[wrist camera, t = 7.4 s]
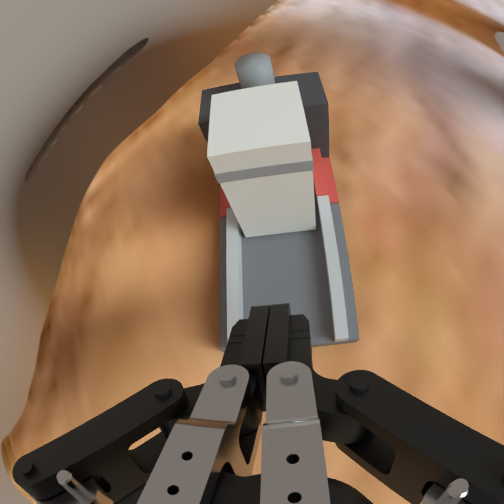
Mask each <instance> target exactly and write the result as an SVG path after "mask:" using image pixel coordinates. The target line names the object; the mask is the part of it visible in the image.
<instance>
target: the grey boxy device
mask: <svg viewBox="0 0 504 504" xmlns="http://www.w3.org/2000/svg"><path fill="white" fill-rule="evenodd" d="M235 68H236V72H237V75H238V78H239V82H240V83H235V84H230V85H225V86H220V87H215V88H211V89H206V90H202V97H201V105H200V114H199V123H198V124H199V126H200V128H201V130H202V132H203V135H204V137H205V139H206V141H207V143H208V134H209V121H210V108H211V97H212V95H214V94H219V93H224V92H229V91H234V90H239V89H245V88H251V87H257V86H263V85H270V84H277V83H284V82H292V81H297V83H298V87H299V91H300V95H301V100H302V104H303V108H304V113H305V117H306V122H307V126H308V131H309V136H310V140H311V152H312V157H313V165H314V170H313V181H314V199H315V220H316V229H314V230H306V231H297V232H288V233H280V234H271V235H263V236H254V237H245V235H244V233H243V231H242V228H241V226H240V224H239V222H238V220H237V218H236V216H235V214H234V212H233V210H232V208H231V206H230V204H229V202H228V199H227V197H226V195H225V193H224V191H223V189H222V187H221V185H220V342H221V351H223V352H225V349H226V346H227V344H228V339H229V337H230V332H231V329H232V327H233V326H234V325H235V324H236V322H237V321H238V320H239V319H248V318H249V314H250V309H251V307H252V306H262V305H270V306H271V305H272V304H283V303H289V304H290V310H291V315H298V314H304V315H305V317H306V318H307V319H308V320H309V325H310V336H311V347H317V346H327V345H335V344H344V343H352V342H357V341H358V340H359V332H358V323H357V315H356V307H355V299H354V291H353V284H352V277H351V271H350V264H349V258H348V252H347V246H346V240H345V234H344V228H343V223H342V218H341V212H340V207H339V200H338V195H337V190H336V186H335V181H334V176H333V172H332V167H331V163H330V159H329V115H328V102H327V99H326V95H325V92H324V89H323V86H322V83H321V80H320V77H319V74H318V72H313V73H303V74H294V75H286V76H278V77H274V73H273V68H272V63H271V58H270V57H269V56H268V55H267V54H264V53H251V54H247V55H244V56H242V57H240V58H239V59H238V60H237V61H236V62H235Z"/></svg>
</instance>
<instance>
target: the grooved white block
mask: <svg viewBox="0 0 504 504" xmlns="http://www.w3.org/2000/svg"><path fill="white" fill-rule="evenodd" d="M207 158H208V160H209V162H210V164H211V166H212V168H213V171H214V175H215V178H216V180H217V182H218V183H220V185H221V187H222V189H223V191H224V193H225V195H226V197H227V199H228V202H229V204H230V206H231V208H232V210H233V212H234V214H235V216H236V218H237V220H238V222H239V224H240V226H241V228H242V231H243V233H244V235H245V237H254V236H263V235H271V234H280V233H288V232H297V231H306V230H314V229H316V220H315V199H314V181H313V170H314V165H313V157H312V152H311V140H310V136H309V131H308V126H307V122H306V117H305V113H304V108H303V104H302V100H301V95H300V91H299V87H298V83H297V81H292V82H284V83H277V84H270V85H263V86H257V87H251V88H245V89H239V90H234V91H229V92H224V93H219V94H214V95H212V97H211V108H210V121H209V134H208V148H207Z"/></svg>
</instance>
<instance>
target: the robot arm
mask: <svg viewBox="0 0 504 504" xmlns="http://www.w3.org/2000/svg"><path fill="white" fill-rule="evenodd" d="M263 411H266V424H263V429H262V424H261V420H262V412H263ZM158 427H159V428H160V430H161V431H162V432H160V433H159V434H157V435H156V436H154V437H153V438H151V439H149V440H148V441H146V442H145V443H143V444H142V445H140V446H138V447H137V448H135V449H133V450H128V449H129V447H130V446H131V445H132V444H133V443H135V442H136V441H138V440H139V439H141V438H143V437H144V436H146V435H147V434H149V433H150V432H152V431H153V430H155V429H157V428H158ZM261 431H262V461H261V474H258V475H253V476H252V470H253V465H254V461H255V457H256V453H257V448H258V444H259V440H260V435H261ZM322 440H324V441H330V442H335V443H336V445H337V447H338V448H339V449H340V450H341V451H342V452H344V453H345V454H346V455H347V456H349V457H350V458H351V459H352V460H354V461H355V462H356V463H357V464H359V465H360V466H361V467H363V468H364V469H365V470H366V471H368V472H369V473H370V474H372V475H373V476H374V477H376V478H377V479H378V480H380V481H381V482H382V483H384V484H385V485H386V486H388V487H389V488H390V489H392V490H393V491H394V492H396V493H397V494H399V495H400V496H401V497H403V498H404V499H406V500H407V501H408V502H410V503H411V504H504V445H502V444H500V443H498V442H496V441H494V440H492V439H490V438H488V437H486V436H484V435H483V434H481V433H479V432H477V431H475V430H473V429H471V428H470V427H468V426H466V425H464V424H462V423H460V422H459V421H457V420H455V419H453V418H451V417H449V416H448V415H446V414H444V413H442V412H440V411H439V410H437V409H435V408H433V407H432V406H430V405H428V404H426V403H424V402H423V401H421V400H419V399H417V398H416V397H414V396H412V395H410V394H409V393H407V392H405V391H404V390H402V389H400V388H398V387H397V386H395V385H393V384H392V383H390V382H388V381H386V380H385V379H383V378H381V377H380V376H378V375H376V374H375V373H373V372H370V371H366V370H355V371H351V372H348V373H346V374H344V375H343V376H341V377H340V378H339V379H338V380H334V379H328V378H324V377H322V376H320V375H318V374H317V373H316V372H315V371H314V370H313V366H312V348H311V336H310V325H309V320H308V319H307V318H306V317H305V315H304V314H298V315H291V310H290V304H289V303H283V304H272V305H271V306H270V305H262V306H252V307H251V309H250V314H249V318H248V319H239V320H238V321H237V322H236V324H235V325H234V326H233V327H232V329H231V332H230V337H229V339H228V344H227V346H226V349H225V353H224V356H223V359H222V363H221V366H220V367H219V368H217V369H215V370H213V371H212V372H211V373H210V374H209V376H208V377H207V380H206V382H205V383H204V384H201V385H197V386H193V387H188V388H183V386H182V384H181V383H180V382H179V381H177V380H175V379H161V380H158V381H155V382H154V383H152V384H150V385H149V386H147V387H145V388H144V389H142V390H140V391H139V392H137V393H135V394H134V395H132V396H130V397H129V398H127V399H125V400H124V401H122V402H120V403H119V404H117V405H115V406H114V407H112V408H110V409H108V410H107V411H105V412H103V413H101V414H100V415H98V416H96V417H95V418H93V419H91V420H89V421H87V422H86V423H84V424H82V425H80V426H79V427H77V428H75V429H73V430H71V431H70V432H68V433H66V434H64V435H62V436H60V437H58V438H57V439H55V440H53V441H51V442H49V443H47V444H45V445H43V446H42V447H40V448H38V449H36V450H34V451H32V452H30V453H28V454H26V455H24V456H22V457H21V458H20V459H19V460H18V461H17V462H16V463H15V465H14V468H13V478H14V480H15V482H16V483H17V484H18V485H20V486H21V487H22V488H23V489H24V490H25V491H26V492H27V493H29V494H30V496H31V497H32V498H33V499H34V500H35V501H36V502H37V504H373V503H372V502H371V501H369V500H368V499H367V498H366V497H365V496H364V495H362V494H361V493H360V492H359V491H358V490H356V489H355V488H353V487H352V486H350V485H348V484H346V483H344V482H341V481H338V480H336V479H331V478H327V471H326V463H325V456H324V448H323V441H322Z"/></svg>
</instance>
